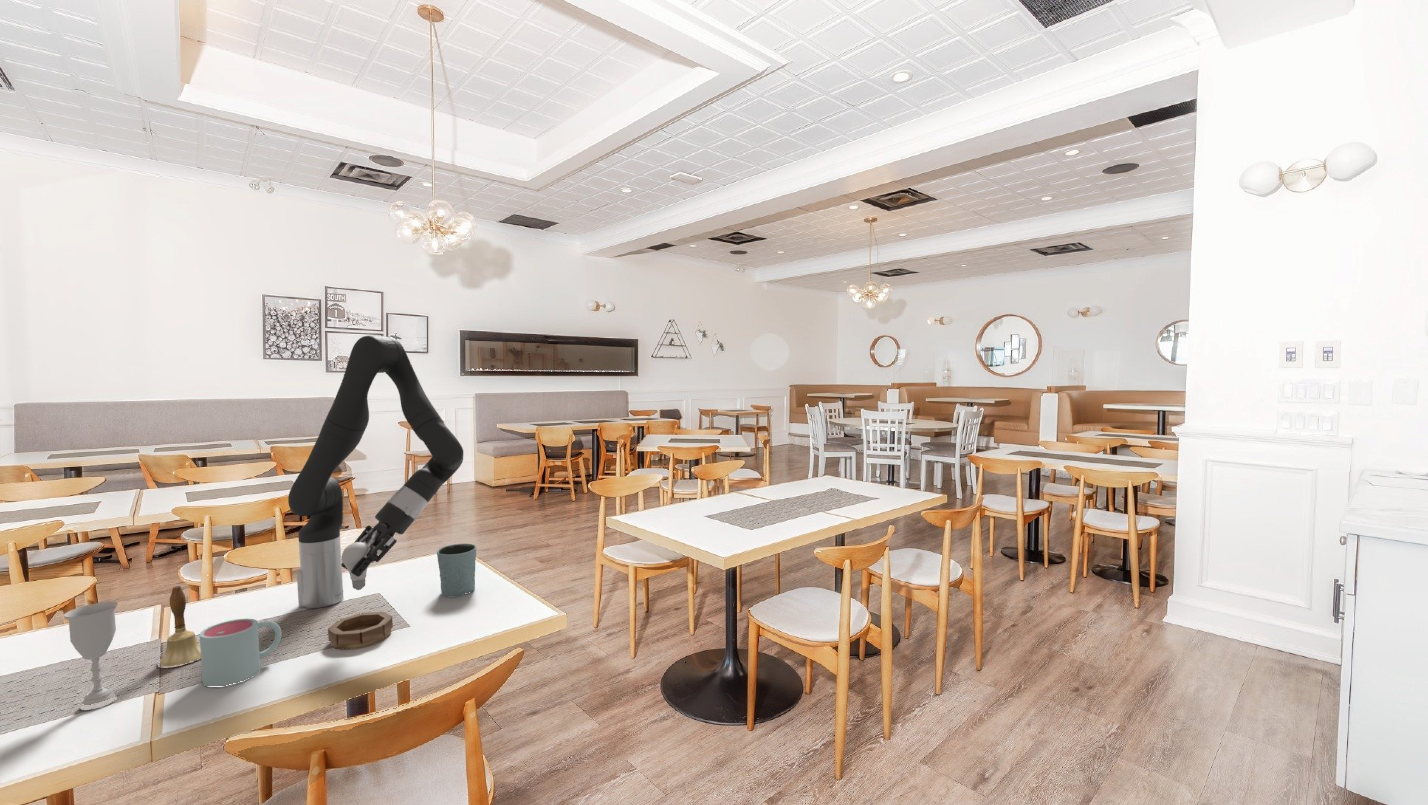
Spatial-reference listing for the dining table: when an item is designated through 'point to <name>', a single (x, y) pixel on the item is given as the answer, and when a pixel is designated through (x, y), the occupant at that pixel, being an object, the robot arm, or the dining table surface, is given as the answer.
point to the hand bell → (180, 635)
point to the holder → (360, 630)
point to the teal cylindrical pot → (457, 569)
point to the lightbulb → (355, 562)
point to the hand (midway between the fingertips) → (349, 571)
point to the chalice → (93, 641)
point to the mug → (233, 650)
